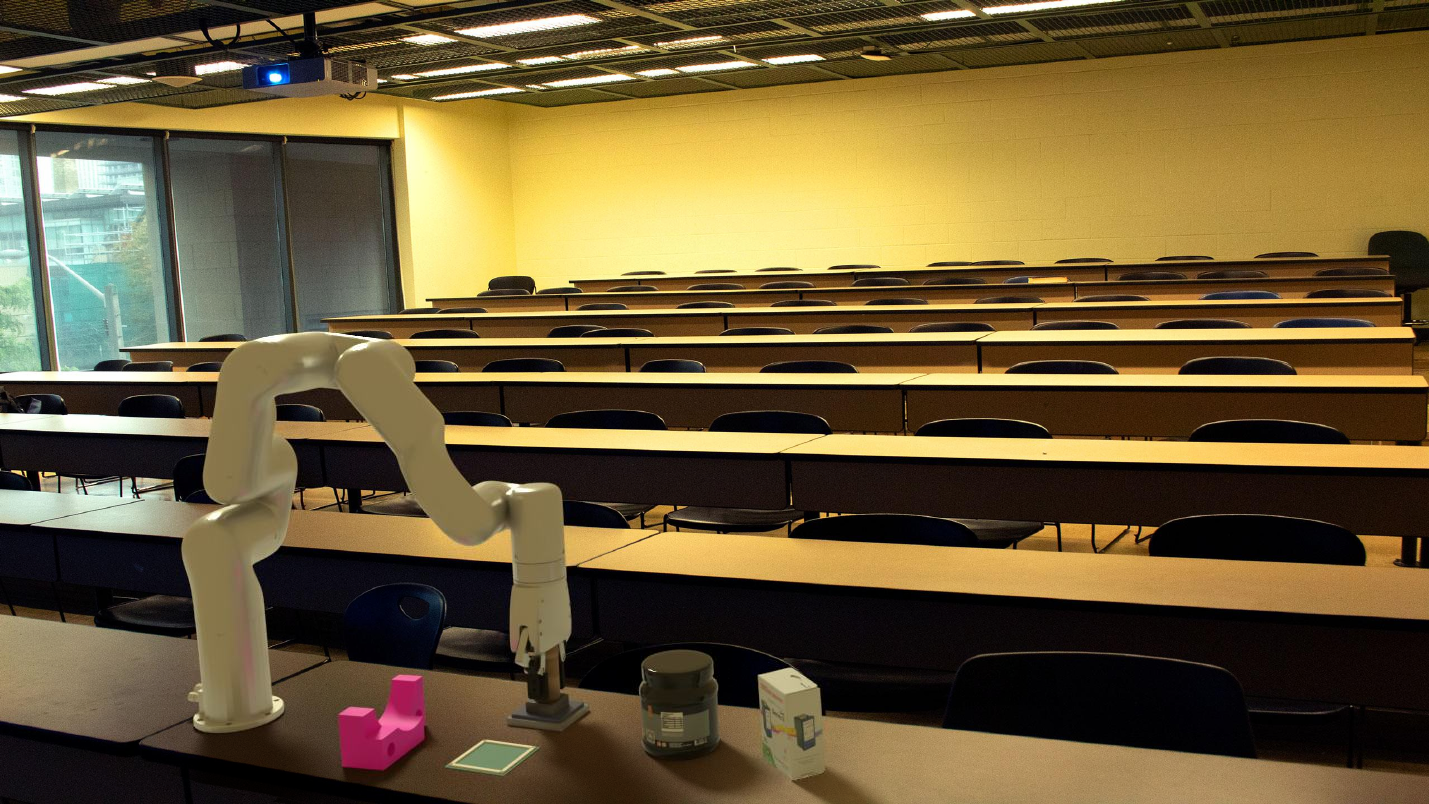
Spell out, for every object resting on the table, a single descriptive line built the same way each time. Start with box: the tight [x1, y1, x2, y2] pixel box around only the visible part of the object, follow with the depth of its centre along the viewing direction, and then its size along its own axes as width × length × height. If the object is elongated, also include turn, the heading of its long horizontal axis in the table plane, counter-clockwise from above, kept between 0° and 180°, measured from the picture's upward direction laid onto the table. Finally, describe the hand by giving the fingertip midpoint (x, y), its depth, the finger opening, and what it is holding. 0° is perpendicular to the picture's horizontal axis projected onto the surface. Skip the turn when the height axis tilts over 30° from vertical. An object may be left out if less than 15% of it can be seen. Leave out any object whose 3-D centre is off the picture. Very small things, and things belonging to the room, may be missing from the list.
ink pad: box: [506, 699, 590, 732], centre depth 164 cm, size 9×8×2 cm
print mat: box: [444, 739, 541, 777], centre depth 150 cm, size 9×9×1 cm
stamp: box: [525, 645, 570, 715], centre depth 163 cm, size 4×4×10 cm
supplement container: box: [638, 649, 720, 761], centre depth 151 cm, size 10×10×12 cm
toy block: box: [337, 674, 427, 771], centre depth 156 cm, size 15×6×8 cm, turn 164°
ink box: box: [757, 667, 826, 780], centre depth 143 cm, size 9×5×12 cm, turn 23°
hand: (546, 692), depth 163 cm, fingers closed on stamp, 3 cm apart
